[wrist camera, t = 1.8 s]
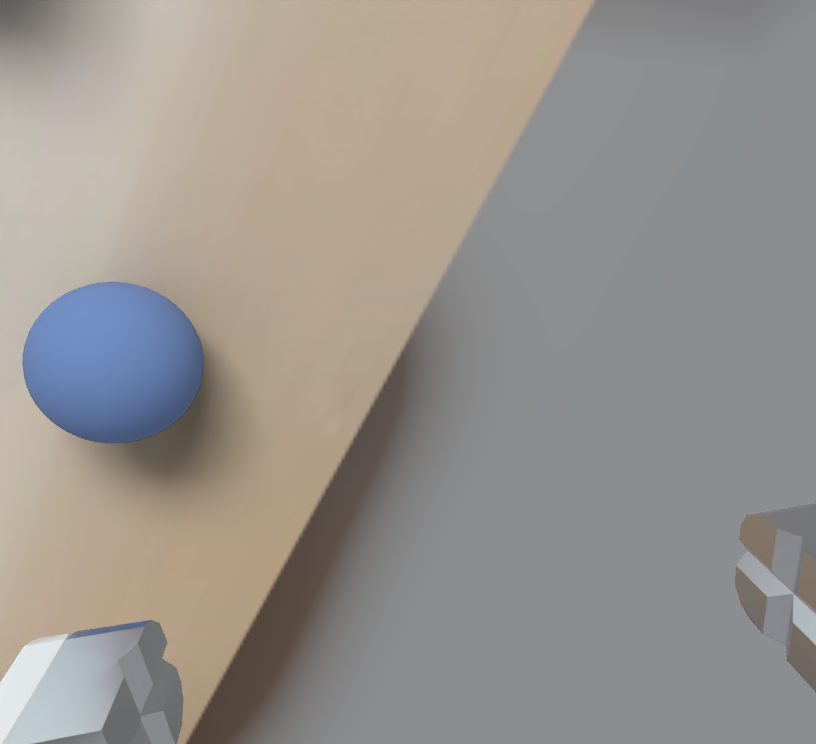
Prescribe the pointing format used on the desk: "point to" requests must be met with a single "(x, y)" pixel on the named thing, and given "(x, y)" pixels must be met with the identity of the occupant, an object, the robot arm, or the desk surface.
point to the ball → (113, 362)
